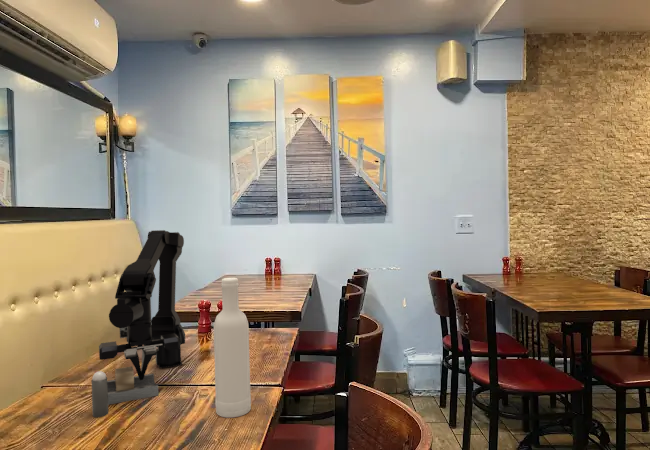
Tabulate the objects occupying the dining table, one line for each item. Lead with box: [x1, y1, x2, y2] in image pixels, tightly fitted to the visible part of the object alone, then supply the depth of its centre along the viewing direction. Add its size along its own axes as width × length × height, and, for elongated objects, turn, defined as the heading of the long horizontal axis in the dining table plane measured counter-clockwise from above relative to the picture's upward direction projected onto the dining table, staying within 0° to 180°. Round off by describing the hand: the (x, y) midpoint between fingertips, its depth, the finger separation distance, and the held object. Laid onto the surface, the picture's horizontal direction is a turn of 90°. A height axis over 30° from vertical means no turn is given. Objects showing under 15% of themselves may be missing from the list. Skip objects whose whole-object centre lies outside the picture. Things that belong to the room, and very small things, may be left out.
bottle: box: [213, 277, 252, 418], centre depth 105 cm, size 8×8×30 cm
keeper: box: [114, 366, 135, 391], centre depth 117 cm, size 4×4×5 cm
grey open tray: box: [94, 370, 159, 406], centre depth 117 cm, size 14×10×6 cm
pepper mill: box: [91, 370, 109, 418], centre depth 105 cm, size 3×3×10 cm
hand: (141, 379), depth 118 cm, fingers closed
